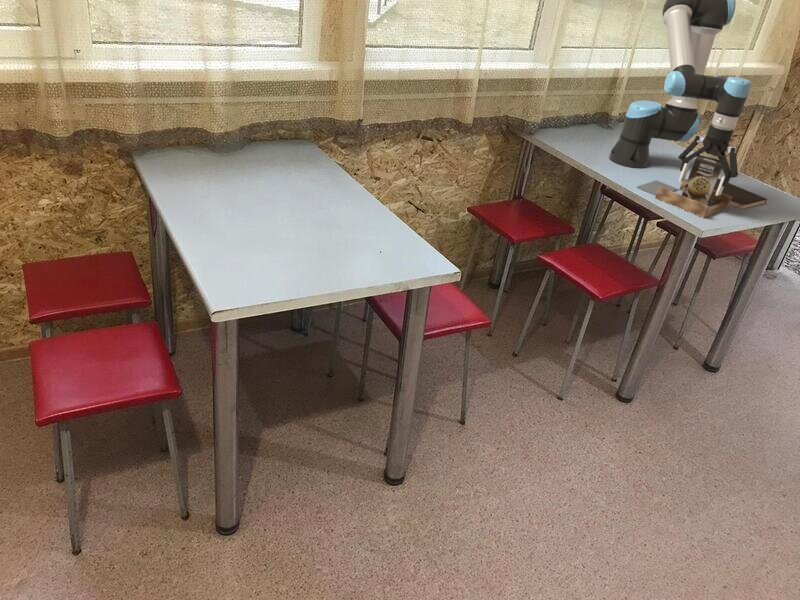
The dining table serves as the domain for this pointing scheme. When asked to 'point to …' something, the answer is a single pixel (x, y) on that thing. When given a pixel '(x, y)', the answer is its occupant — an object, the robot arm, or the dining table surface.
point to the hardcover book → (740, 196)
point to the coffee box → (702, 179)
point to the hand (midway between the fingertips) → (699, 187)
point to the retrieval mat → (655, 187)
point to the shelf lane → (692, 205)
